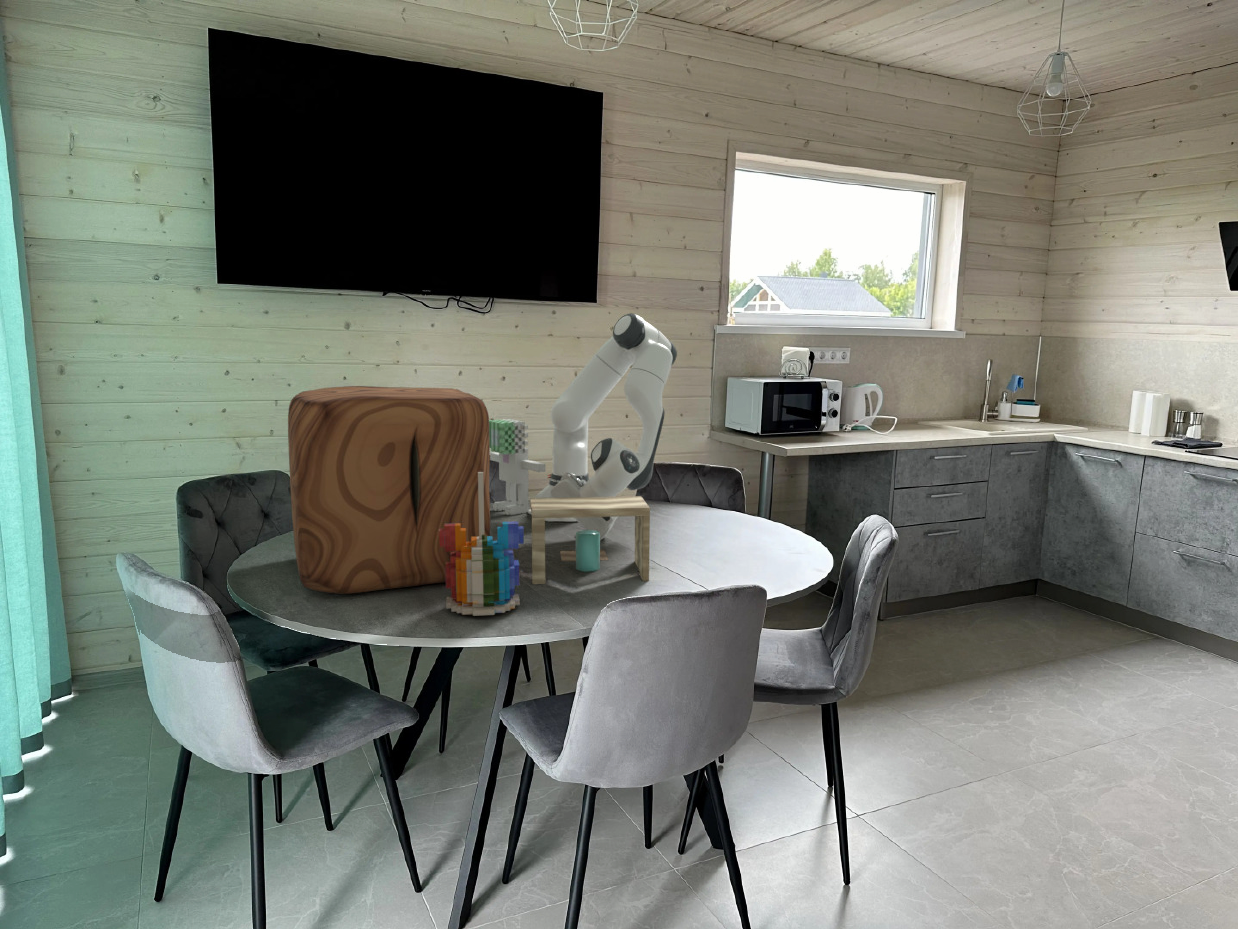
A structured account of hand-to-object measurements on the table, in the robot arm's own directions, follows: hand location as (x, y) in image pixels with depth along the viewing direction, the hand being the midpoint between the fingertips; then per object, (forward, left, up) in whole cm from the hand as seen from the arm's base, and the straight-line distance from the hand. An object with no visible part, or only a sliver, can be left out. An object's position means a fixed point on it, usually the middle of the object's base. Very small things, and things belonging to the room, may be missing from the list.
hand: (565, 524), depth 251 cm
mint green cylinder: (+30, -17, -4) cm, 35 cm away
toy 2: (-41, +9, -4) cm, 42 cm away
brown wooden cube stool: (-5, -53, -4) cm, 53 cm away
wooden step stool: (+31, -19, -4) cm, 37 cm away
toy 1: (+36, -53, -4) cm, 64 cm away
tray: (+20, -10, -4) cm, 23 cm away
